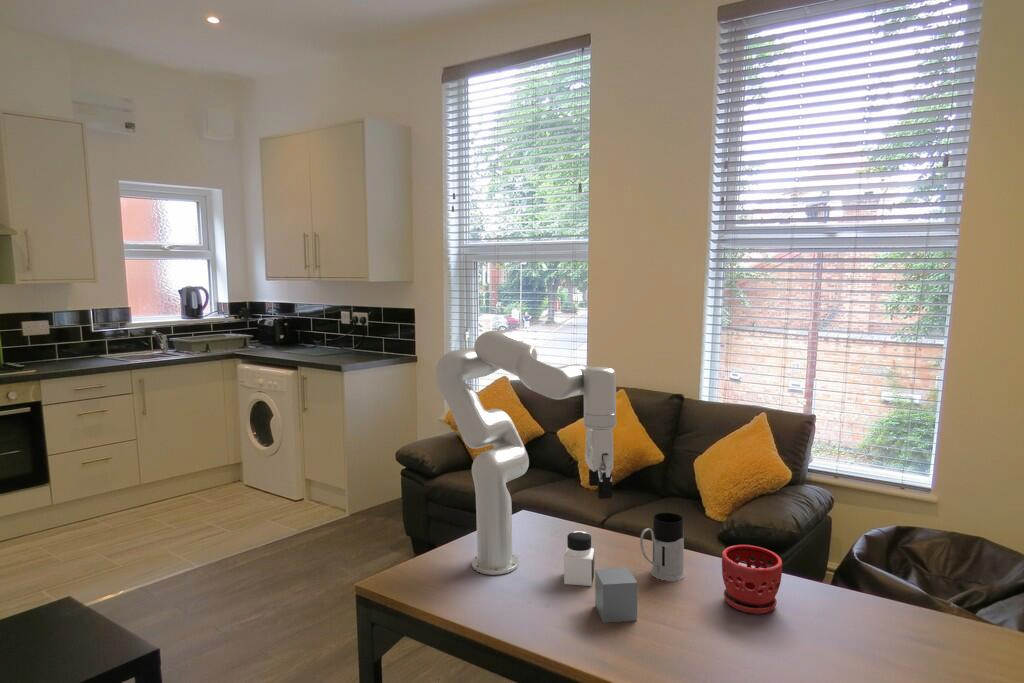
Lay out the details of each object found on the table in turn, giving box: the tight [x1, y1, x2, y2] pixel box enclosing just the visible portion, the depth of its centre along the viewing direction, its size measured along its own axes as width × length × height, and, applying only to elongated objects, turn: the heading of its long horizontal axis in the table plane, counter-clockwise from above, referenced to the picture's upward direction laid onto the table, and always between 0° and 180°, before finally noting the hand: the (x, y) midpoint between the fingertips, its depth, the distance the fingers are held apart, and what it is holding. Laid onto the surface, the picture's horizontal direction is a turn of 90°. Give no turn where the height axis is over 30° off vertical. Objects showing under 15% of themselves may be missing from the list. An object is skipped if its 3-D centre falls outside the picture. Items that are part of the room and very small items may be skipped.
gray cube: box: [594, 567, 638, 624], centre depth 146 cm, size 8×8×9 cm
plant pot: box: [721, 544, 783, 615], centre depth 148 cm, size 13×13×12 cm
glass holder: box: [639, 512, 686, 582], centre depth 164 cm, size 9×14×15 cm, turn 124°
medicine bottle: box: [563, 530, 595, 587], centre depth 163 cm, size 7×7×12 cm
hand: (600, 491), depth 151 cm, fingers open, 9 cm apart
